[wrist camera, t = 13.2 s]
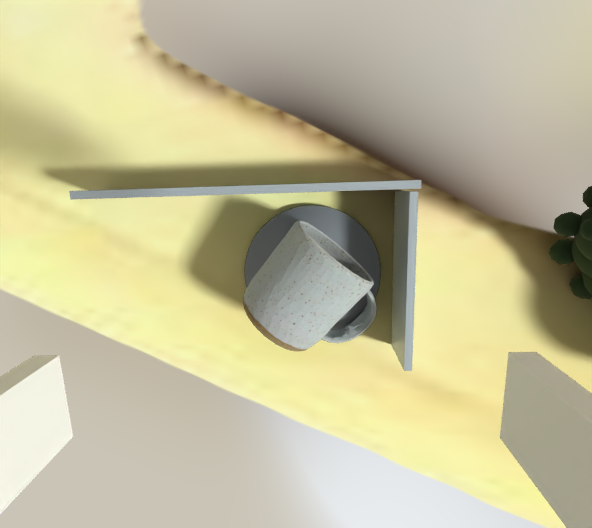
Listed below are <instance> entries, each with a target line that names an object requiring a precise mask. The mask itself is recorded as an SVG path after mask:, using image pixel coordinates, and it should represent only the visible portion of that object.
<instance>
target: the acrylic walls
mask: <svg viewBox="0 0 592 528" xmlns="http://www.w3.org/2000/svg"><path fill="white" fill-rule="evenodd" d="M390 189H421V180H405V181H374V182H342V183H311V184H280V185H248V186H217V187H186V188H154V189H123V190H92V191H69V192H70V198H71V199H97V198H130V197H162V196H195V195H227V194H260V193H293V192H325V191H358V190H390ZM417 213H418V191H395V208H394V251H393V295H392V338H391V345H392V347H393V349H394V351H395V353H396V355H397V357H398V359H399V361H400V363H401V365H402V367H403V369H404V371H412V354H413V326H414V297H415V269H416V241H417Z"/></svg>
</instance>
